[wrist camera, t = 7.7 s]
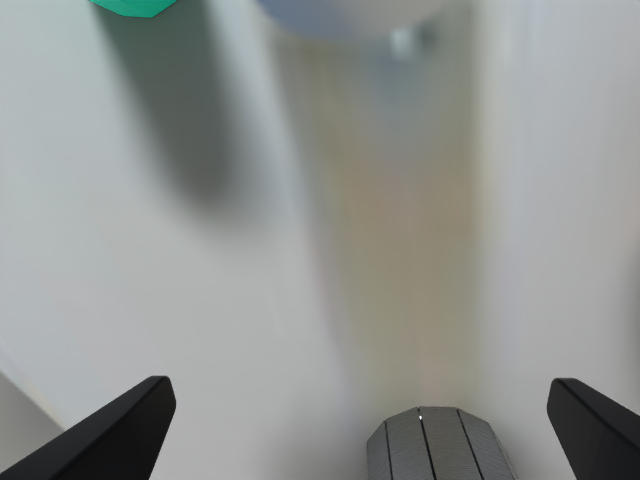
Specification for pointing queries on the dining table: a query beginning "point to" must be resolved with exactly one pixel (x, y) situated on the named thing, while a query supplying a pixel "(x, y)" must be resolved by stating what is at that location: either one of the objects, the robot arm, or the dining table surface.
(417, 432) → the pot
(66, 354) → the dining table surface
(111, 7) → the candle
